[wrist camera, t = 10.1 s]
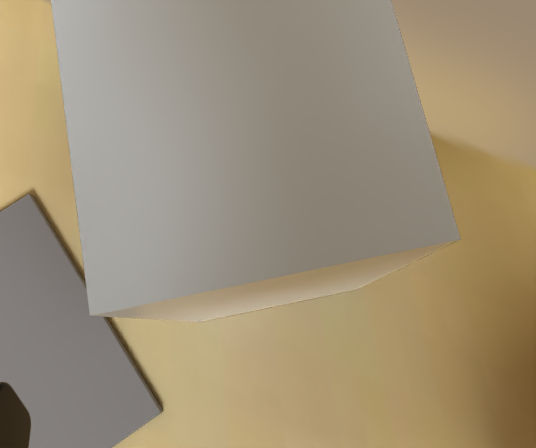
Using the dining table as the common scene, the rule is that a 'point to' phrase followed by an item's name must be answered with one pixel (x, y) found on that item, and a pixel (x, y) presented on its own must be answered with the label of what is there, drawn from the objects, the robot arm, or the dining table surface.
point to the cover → (243, 152)
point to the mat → (61, 343)
